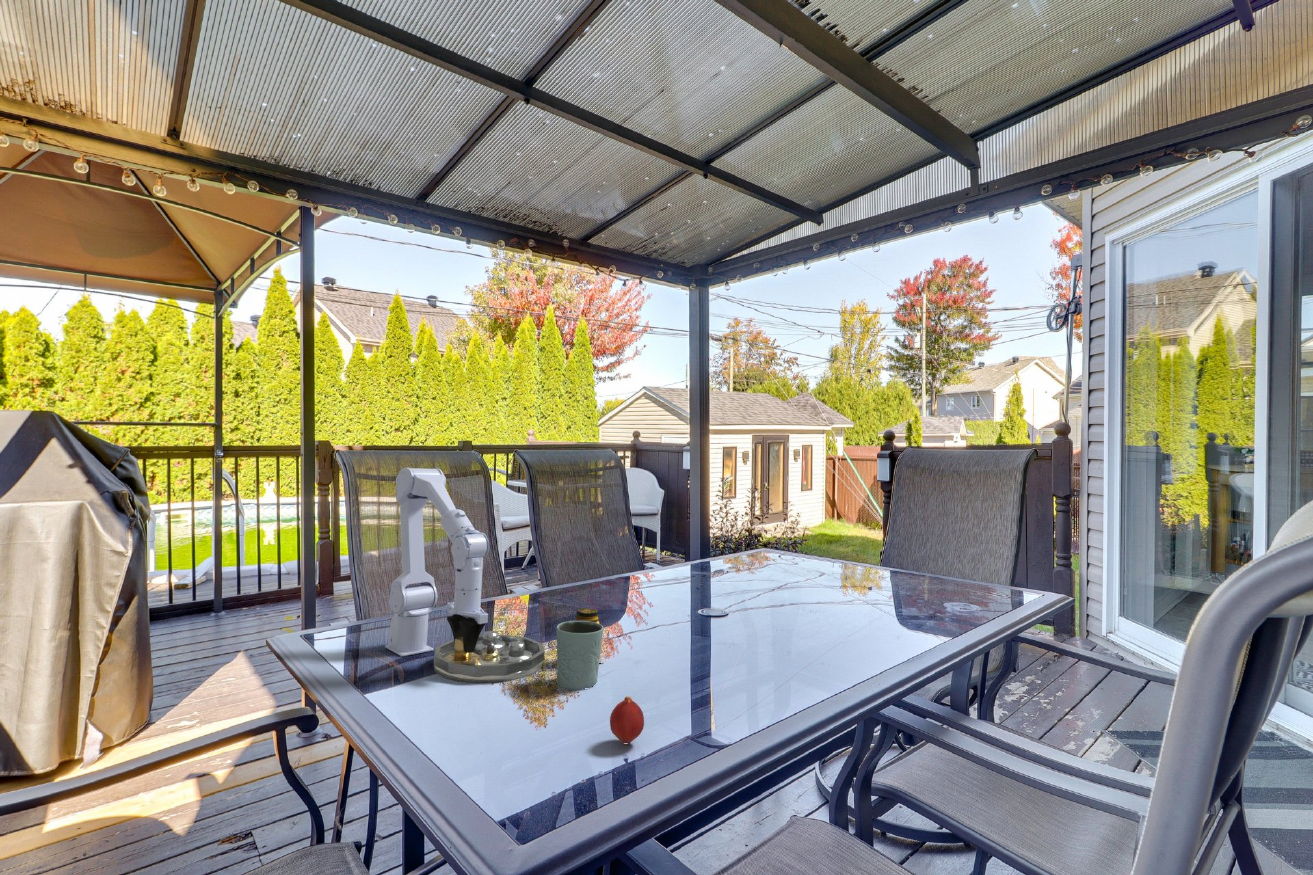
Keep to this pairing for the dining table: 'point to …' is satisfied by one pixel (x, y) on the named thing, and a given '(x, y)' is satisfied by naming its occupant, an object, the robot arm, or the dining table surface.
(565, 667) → the green cup
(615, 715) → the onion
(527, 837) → the dining table surface
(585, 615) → the condiment
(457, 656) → the brass octagonal knob
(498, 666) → the tray
